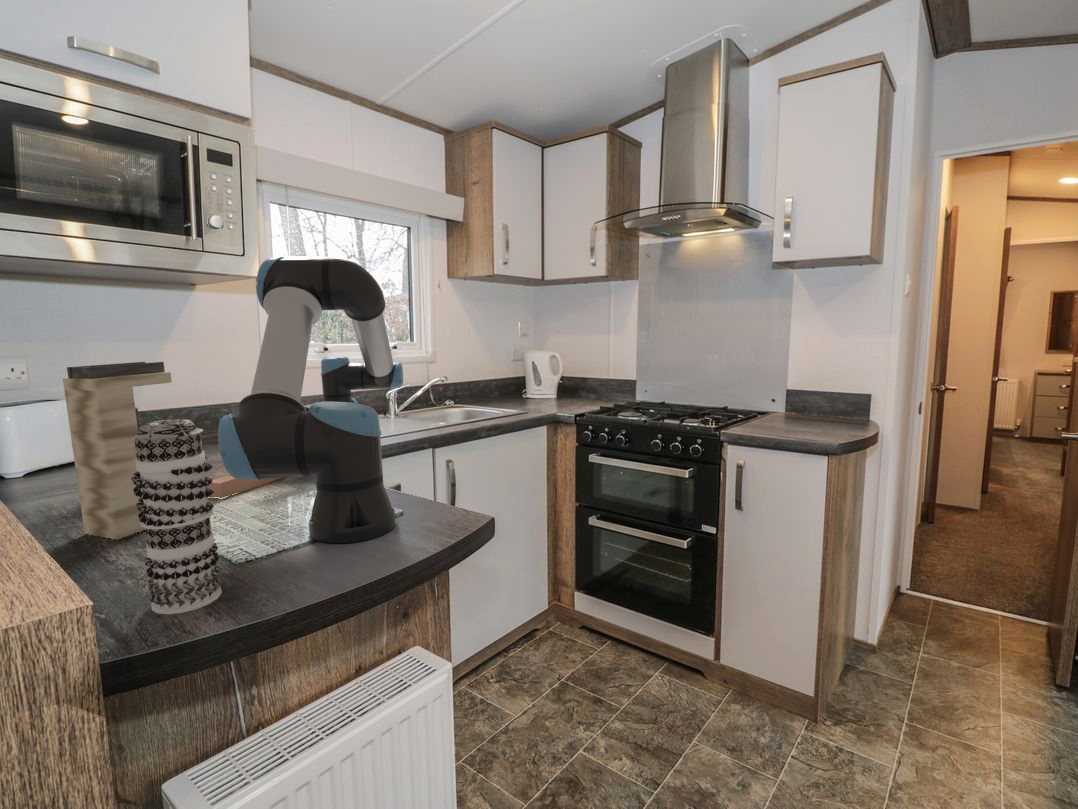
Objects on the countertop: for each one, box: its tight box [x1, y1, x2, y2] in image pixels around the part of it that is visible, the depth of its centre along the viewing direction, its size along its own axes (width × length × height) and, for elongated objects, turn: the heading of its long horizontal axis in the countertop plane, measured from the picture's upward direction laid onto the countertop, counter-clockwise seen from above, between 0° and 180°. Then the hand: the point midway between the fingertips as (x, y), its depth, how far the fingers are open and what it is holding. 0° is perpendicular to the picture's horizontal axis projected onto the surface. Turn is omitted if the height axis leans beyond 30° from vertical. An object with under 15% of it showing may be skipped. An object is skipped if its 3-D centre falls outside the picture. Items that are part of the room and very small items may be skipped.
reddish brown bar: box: [206, 474, 281, 498], centre depth 136 cm, size 4×20×4 cm, turn 162°
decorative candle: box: [131, 418, 223, 615], centre depth 78 cm, size 9×9×25 cm
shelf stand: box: [62, 361, 173, 541], centre depth 108 cm, size 9×14×31 cm, turn 159°
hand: (244, 433), depth 133 cm, fingers open, 11 cm apart
